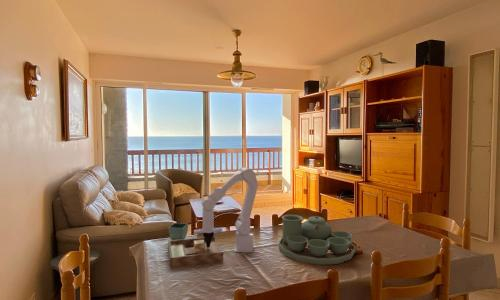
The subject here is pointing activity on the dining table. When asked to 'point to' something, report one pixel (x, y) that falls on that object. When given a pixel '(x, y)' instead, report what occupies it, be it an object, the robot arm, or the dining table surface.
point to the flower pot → (178, 231)
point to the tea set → (314, 241)
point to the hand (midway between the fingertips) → (208, 246)
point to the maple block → (199, 245)
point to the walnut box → (192, 253)
